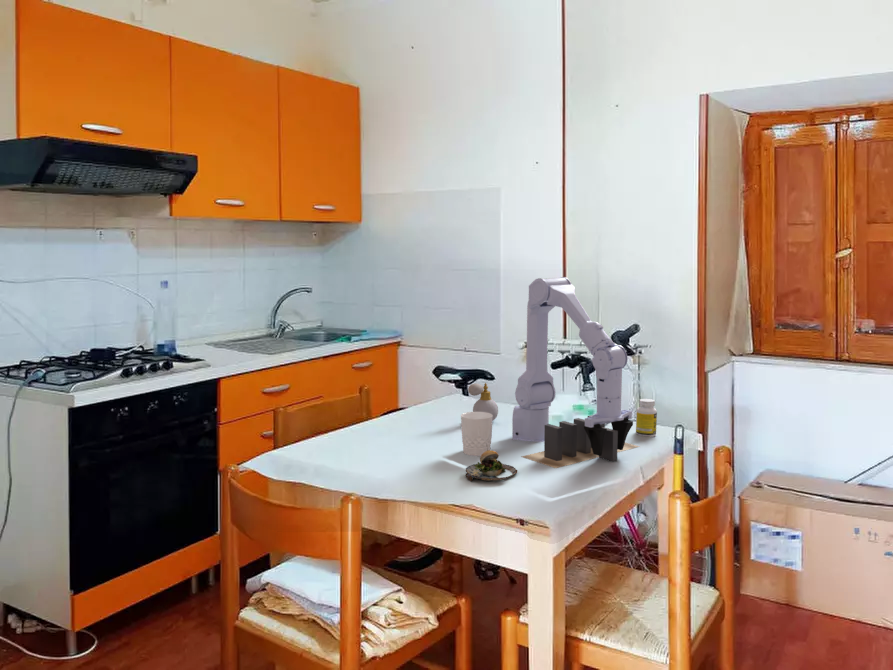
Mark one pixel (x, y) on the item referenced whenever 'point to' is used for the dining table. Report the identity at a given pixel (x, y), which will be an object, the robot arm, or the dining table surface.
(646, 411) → the supplement bottle
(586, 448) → the domino
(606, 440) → the domino
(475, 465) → the burger
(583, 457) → the oak board
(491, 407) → the perfume bottle
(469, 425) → the white cup
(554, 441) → the domino
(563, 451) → the domino
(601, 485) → the dining table surface
